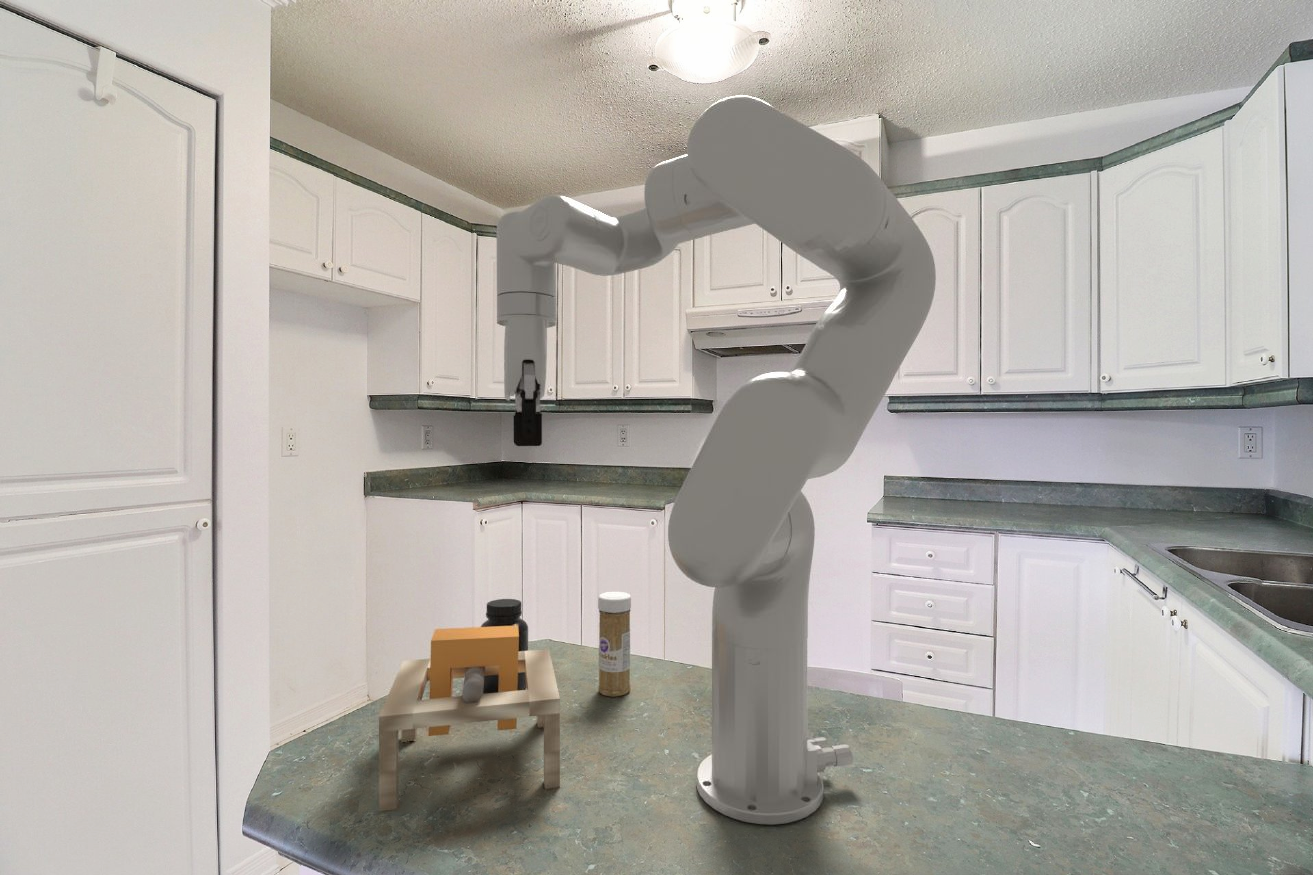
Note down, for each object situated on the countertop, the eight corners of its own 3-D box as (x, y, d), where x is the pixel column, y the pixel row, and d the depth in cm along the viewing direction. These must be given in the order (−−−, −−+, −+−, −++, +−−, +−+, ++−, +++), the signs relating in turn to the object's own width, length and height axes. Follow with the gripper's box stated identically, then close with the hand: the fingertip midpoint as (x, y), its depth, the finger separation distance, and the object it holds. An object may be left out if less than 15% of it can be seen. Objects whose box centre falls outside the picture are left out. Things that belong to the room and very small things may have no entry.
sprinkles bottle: (591, 694, 86) (591, 596, 86) (609, 682, 90) (609, 589, 90) (620, 700, 84) (620, 600, 84) (637, 688, 88) (637, 592, 88)
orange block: (515, 712, 72) (518, 625, 72) (516, 728, 68) (518, 636, 68) (432, 719, 69) (435, 629, 69) (428, 736, 66) (431, 640, 66)
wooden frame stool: (549, 721, 78) (549, 632, 78) (559, 787, 63) (559, 678, 63) (403, 736, 74) (403, 643, 74) (379, 811, 59) (378, 695, 59)
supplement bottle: (522, 698, 85) (521, 609, 85) (471, 697, 85) (471, 609, 85) (533, 678, 92) (532, 596, 92) (486, 677, 92) (486, 596, 92)
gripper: (497, 323, 88) (497, 444, 88) (496, 297, 72) (496, 446, 72) (551, 325, 90) (551, 444, 90) (562, 300, 73) (562, 446, 73)
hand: (526, 445), depth 81 cm, fingers open, 9 cm apart
